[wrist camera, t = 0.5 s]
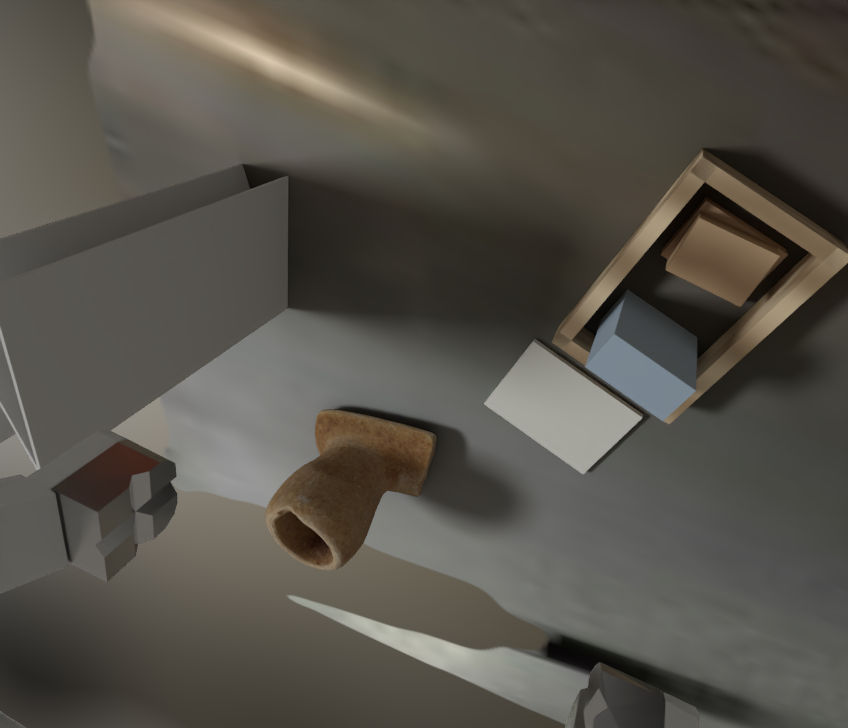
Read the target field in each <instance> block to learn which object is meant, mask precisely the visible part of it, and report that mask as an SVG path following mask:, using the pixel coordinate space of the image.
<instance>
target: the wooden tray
mask: <svg viewBox="0 0 848 728" xmlns="http://www.w3.org/2000/svg"><path fill="white" fill-rule="evenodd" d="M704 182H706V183H707V184H709V185H710V186H712V187H713V188H715V189H716V190H718V191H719V192H720V193H722V194H723V195H725V196H726V197H728V198H729V199H731V200H732V201H734V202H735V203H737V204H738V205H740V206H741V207H743V208H744V209H746V210H747V211H749V212H750V213H752V214H753V215H755V216H756V217H758V218H759V219H761V220H762V221H764V222H765V223H766V224H768V225H769V226H771V227H772V228H774V229H775V230H777V231H778V232H780V233H781V234H783V235H784V236H786V237H787V238H789V239H790V240H792V241H793V242H795V243H796V244H798V245H799V246H801V247H802V248H804V249H805V250H807V251H808V252H809V253H808V254H807V255H806V256H805V257H804V258H803V259H802V260H800V261H799V262H798V263H797V264H796V265H795V266H794V267H793V268H792V269H791V270H790V271H789V272H788V273H787V274H786V275H785V276H784V277H783V278H782V279H781V280H780V281H779V282H778V283H776V284H775V285H774V286H773V287H772V288H771V289H770V290H769V291H768V292H767V293H766V294H765V295H764V296H763V297H762V298H761V299H760V300H759V301H758V302H757V303H756V304H755V305H754V306H753V307H751V308H750V309H749V310H748V311H747V312H746V313H745V314H744V315H743V316H742V317H741V318H740V319H739V320H738V321H737V322H736V323H735V324H734V325H733V326H732V327H731V328H730V329H729V330H727V331H726V332H725V333H724V334H723V335H722V336H721V337H720V338H719V339H718V340H717V341H716V342H715V343H714V344H713V345H712V346H711V347H710V348H709V349H708V350H707V351H706V352H705V353H704V354H702V355H701V356H700V357H699V358H698V359H697V374H696V391H695V392H694V393H693V394H692V395H691V396H690V397H689V398H688V399H687V400H685V401H684V402H683V403H682V404H681V405H680V406H679V407H678V408H677V409H676V410H675V411H674V412H672V413H671V414H670V415H669V416H668V417H667V418H666V419H665V420H664V421H665V422H666V423H668V424H670V423H671V422H672V421H674V420H675V419H676V418H677V417H678V416H679V415H680V414H681V413H682V412H684V411H685V410H686V409H687V408H688V407H689V406H690V405H691V404H692V403H693V402H695V401H696V400H697V399H698V398H699V397H700V396H701V395H702V394H703V393H705V392H706V391H707V390H708V389H709V388H710V387H711V386H712V385H713V384H714V383H716V382H717V381H718V380H719V379H720V378H721V377H722V376H723V375H724V374H725V373H727V372H728V371H729V370H730V369H731V368H732V367H733V366H734V365H735V364H737V363H738V362H739V361H740V360H741V359H742V358H743V357H744V356H745V355H746V354H748V353H749V352H750V351H751V350H752V349H753V348H754V347H755V346H756V345H758V344H759V343H760V342H761V341H762V340H763V339H764V338H765V337H766V336H767V335H769V334H770V333H771V332H772V331H773V330H774V329H775V328H776V327H777V326H779V325H780V324H781V323H782V322H783V321H784V320H785V319H786V318H787V317H788V316H790V315H791V314H792V313H793V312H794V311H795V310H796V309H797V308H798V307H800V306H801V305H802V304H803V303H804V302H805V301H806V300H807V299H808V298H809V297H811V296H812V295H813V294H814V293H815V292H816V291H817V290H818V289H819V288H820V287H822V286H823V285H824V284H825V283H826V282H827V281H828V280H829V279H830V278H832V277H833V276H834V275H835V274H836V273H837V272H838V271H839V270H840V269H841V268H843V267H844V266H845V265H846V264H847V263H848V249H847V247H846V246H845V244H844V242H842V241H841V240H839V239H838V238H836V237H835V236H833V235H832V234H830V233H829V232H827V231H826V230H824V229H823V228H821V227H820V226H818V225H817V224H815V223H814V222H812V221H811V220H809V219H808V218H806V217H805V216H803V215H802V214H800V213H799V212H797V211H796V210H795V209H793V208H792V207H790V206H789V205H787V204H786V203H784V202H783V201H781V200H780V199H778V198H777V197H775V196H774V195H772V194H771V193H769V192H768V191H766V190H765V189H763V188H762V187H760V186H759V185H757V184H756V183H754V182H753V181H751V180H750V179H748V178H747V177H745V176H744V175H742V174H741V173H739V172H738V171H736V170H735V169H733V168H732V167H730V166H729V165H727V164H726V163H724V162H723V161H721V160H720V159H718V158H717V157H715V156H714V155H712V154H711V153H709V152H708V151H707V150H705V149H704V148H702V150H701V151H700V152H699V153H698V155H697V156H696V157H695V158H694V159H693V161H692V162H691V163H690V164H689V166H688V167H687V168H686V169H685V171H684V172H683V173H682V174H681V176H680V177H679V178H678V179H677V181H676V182H675V183H674V184H673V185H672V187H671V188H670V189H669V190H668V192H667V193H666V194H665V195H664V197H663V198H662V199H661V200H660V202H659V203H658V204H657V205H656V207H655V208H654V209H653V210H652V211H651V213H650V214H649V215H648V216H647V218H646V219H645V220H644V221H643V223H642V224H641V225H640V226H639V228H638V229H637V230H636V231H635V233H634V234H633V235H632V236H631V238H630V239H629V240H628V241H627V242H626V244H625V245H624V246H623V247H622V249H621V250H620V251H619V252H618V254H617V255H616V256H615V257H614V259H613V260H612V261H611V262H610V264H609V265H608V266H607V267H606V268H605V270H604V271H603V272H602V273H601V275H600V276H599V277H598V278H597V280H596V281H595V282H594V283H593V285H592V286H591V287H590V288H589V290H588V291H587V292H586V293H585V294H584V296H583V297H582V298H581V299H580V301H579V302H578V303H577V304H576V306H575V307H574V308H573V309H572V311H571V312H570V313H569V314H568V316H567V317H566V318H565V319H564V320H563V322H562V323H561V324H560V325H559V327H558V330H557V332H556V334H555V336H554V338H553V340H552V343H553V344H555V345H556V346H558V347H559V348H561V349H562V350H563V351H565V352H566V353H568V354H569V355H571V356H572V357H573V358H575V359H576V360H578V361H579V362H581V363H582V364H583V365H586V362H587V360H588V357H589V354H590V351H591V348H592V345H593V342H594V339H595V337H596V335H594V334H593V333H591V332H590V331H588V330H587V329H585V328H584V327H583V326H584V325H585V324H586V323H587V321H588V320H589V319H590V318H591V317H592V315H593V314H594V313H595V312H596V311H597V309H598V308H599V307H600V306H601V305H602V304H603V302H604V301H605V300H606V299H607V298H608V296H609V295H610V294H611V293H612V292H613V290H614V289H615V288H616V287H617V286H618V284H619V283H620V282H621V281H622V280H623V279H624V277H625V276H626V275H627V274H628V273H629V271H630V270H631V269H632V268H633V267H634V265H635V264H636V263H637V262H638V261H639V260H640V258H641V257H642V256H643V255H644V254H645V252H646V251H647V250H648V249H649V248H650V246H651V245H652V244H653V243H654V242H655V240H656V239H657V238H658V237H659V236H660V235H661V233H662V232H663V231H664V230H665V229H666V227H667V226H668V225H669V224H670V223H671V221H672V220H673V219H674V218H675V217H676V215H677V214H678V213H679V212H680V211H681V210H682V208H683V207H684V206H685V205H686V204H687V202H688V201H689V200H690V199H691V198H692V196H693V195H694V194H695V193H696V192H697V191H698V189H699V188H700V187H701V186H702V185H703V183H704Z"/></svg>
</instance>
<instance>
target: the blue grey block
mask: <svg viewBox="0 0 848 728" xmlns="http://www.w3.org/2000/svg"><path fill="white" fill-rule="evenodd" d="M585 367H586V368H587V369H589V370H590V371H592V372H593V373H594V374H596V375H597V376H599V377H600V378H602V379H603V380H604V381H606V382H607V383H609V384H610V385H612V386H613V387H614V388H616V389H617V390H619V391H620V392H622V393H623V394H624V395H626V396H627V397H629V398H630V399H632V400H633V401H634V402H636V403H637V404H639V405H640V406H642V407H643V408H644V409H646V410H647V411H649V412H650V413H652V414H653V415H654V416H656V417H657V418H659V419H660V420H662V421H664V420H665V419H666V418H667V417H668V416H669V415H670V414H671V413H672V412H674V411H675V410H676V409H677V408H678V407H679V406H680V405H681V404H682V403H683V402H684V401H685V400H687V399H688V398H689V397H690V396H691V395H692V394H693V393H694V392H695V391H696V374H697V337H696V336H695V335H693V334H692V333H690V332H689V331H687V330H686V329H684V328H683V327H682V326H680V325H679V324H677V323H676V322H674V321H673V320H671V319H670V318H669V317H667V316H666V315H664V314H663V313H661V312H660V311H658V310H657V309H655V308H654V307H653V306H651V305H650V304H648V303H647V302H645V301H644V300H642V299H641V298H639V297H638V296H637V295H635V294H634V293H632V292H631V291H629V290H628V289H627V290H626V291H625V292H624V294H623V295H622V296H621V297H620V298H619V299H618V301H617V302H616V303H615V304H614V305H613V306H612V308H611V309H610V310H609V311H608V312H607V313H606V315H605V316H604V317H603V318H602V319H601V322H600V325H599V328H598V331H597V334H596V337H595V339H594V342H593V345H592V348H591V351H590V354H589V357H588V360H587V362H586V365H585Z"/></svg>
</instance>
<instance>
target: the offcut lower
mask: <svg viewBox="0 0 848 728" xmlns="http://www.w3.org/2000/svg"><path fill="white" fill-rule="evenodd" d="M699 211H702V212H704V213H706V214H708V215H710V216H712V217H715V218H717V219H719V220H721V221H723V222H725V223H727V224H729V225H731V226H734V227H736V228H738V229H740V230H742V231H744V232H746V233H748V234H751V235H753V236H755V237H757V238H759V239H761V240H763V241H765V242H767V243H770V244H772V245H774V246H776V247H778V251H779V255H780V257H779V258H778V259H777V261H776V262H775V263H774V265H773V266H772V267H771V268H770V270H769V271H768V272H767V274H766V275H765V276H764V278H763V279H762V280H761V281H760V283H761V282H762V281H763V280H764V279H765V278H766V277H767V276H768V275H769V274H770V273H771V272H772V271H773V270H774V269H775V268H776V267H777V266H778V265H779V264H780V263H781V262H782V261H783V260H784V259H785V258H786V257H787V256H788V253H787V250H786V249H785V248H784V247H782V246H781V245H779V244H778V243H776V242H775V241H773V240H772V239H770V238H769V237H767V236H766V235H764V234H762V233H761V232H759V231H758V230H756V229H755V228H753V227H752V226H750V225H749V224H747V223H746V222H744V221H743V220H741V219H740V218H738V217H737V216H735V215H734V214H732V213H731V212H729V211H728V210H726V209H725V208H723V207H722V206H720V205H719V204H717V203H716V202H714V201H713V200H711V199H710V198H708V197H707V196H706V197H705V198H704V200H703V201H702V202H701V203H700V204H699V206H698V207H697V208H696V209H695V210H694V211H693V213H692V214H691V215H690V216H689V217H688V219H687V220H686V221H685V222H684V223H683V225H682V226H681V227H680V228H679V229H678V230H677V232H676V233H675V234H674V235H673V236H672V238H671V239H670V240H669V241H668V242H667V243H666V245H665V246H664V247H663V248H662V250H661V256H663V257H664V258H666V259H667V260H668V259H669V257H670V256H671V254H672V253H673V251H674V250H675V248H676V247H677V245H678V244H679V242H680V241H681V239H682V237H683V236H684V234H685V233H686V231H687V230H688V228H689V227H690V225H691V224H692V222H693V221H694V219H695V217H696V216H697V214H698V213H699ZM760 283H759V284H760ZM759 284H758V285H759ZM758 285H757V286H758ZM734 305H735V304H734ZM736 306H737V305H736Z"/></svg>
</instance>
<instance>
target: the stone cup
mask: <svg viewBox="0 0 848 728" xmlns="http://www.w3.org/2000/svg"><path fill="white" fill-rule="evenodd" d="M315 438H316V444H317V448H318V451H319V453H320V456H319V457H318V458H316V459H315V460H313V461H311V462H309V463H307V464H305V465H304V466H302V467H301V468H300V469H298V470H297V471H296V472H294V473H293V474H292V475H291V476H290V477H289V478H288V479H287V480H286V481H285V482H284V483H283V484H282V485H281V487H280V488H279V489H278V490H277V492H276V493H275V494H274V496H273V497H272V499H271V501H270V502H269V504H268V506H267V509H266V514H265V518H266V523H267V526H268V529H269V531H270V532H271V534H272V536H273V537H274V539H275V540H276V542H277V543H278V544H279V545H280V546H281V547H282V548H283V549H284V550H285V551H286V552H287V553H288V554H290V555H291V556H292V557H294V558H295V559H296V560H298V561H300V562H301V563H303V564H305V565H308V566H310V567H313V568H317V569H320V570H335V569H338V568H340V567H342V566H343V565H344V564H346V562H348V561H349V560H350V559H351V558H352V557H353V556H354V555H355V553H356V552H357V551H358V549H359V548H360V547H361V545H362V544H363V542H364V540H365V538H366V536H367V533H368V530H369V528H370V525H371V523H372V520H373V517H374V514H375V511H376V509H377V506H378V504H379V502H380V499H381V497H382V495H383V494H384V493H385V492H386V491H393V492H399V493H404V494H408V495H412V496H416V497H418V496H419V495H420V494H421V492H422V485H423V483H424V481H425V480H426V478H427V472H428V470H429V466H430V464H431V460H432V458H433V457H434V455H435V448H436V438H437V436H436V435H435V434H433V433H432V432H429V431H425V430H422V429H419V428H416V427H412V426H409V425H405V424H401V423H397V422H393V421H389V420H385V419H381V418H377V417H373V416H368V415H364V414H359V413H354V412H348V411H342V410H336V409H327V410H322V411H321V412H320V413H319V414H318V416H317V419H316V426H315Z"/></svg>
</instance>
